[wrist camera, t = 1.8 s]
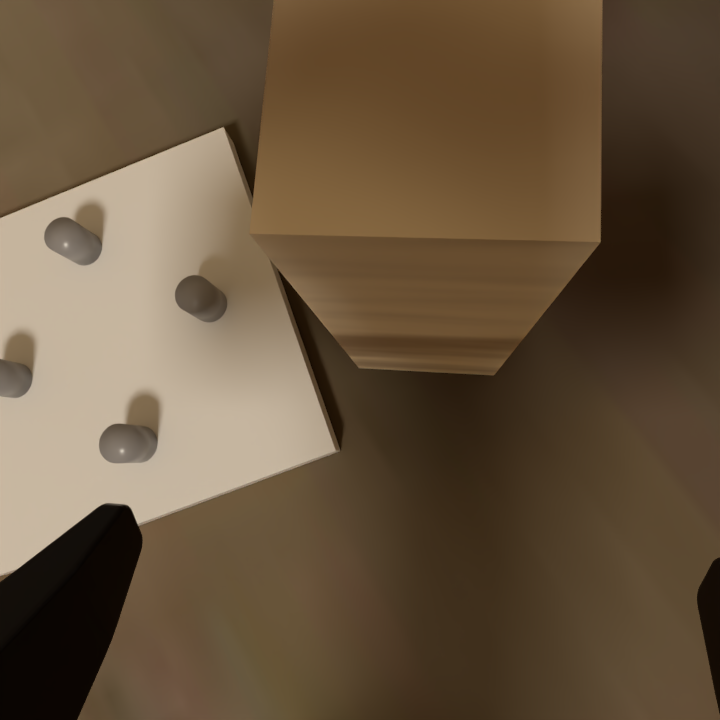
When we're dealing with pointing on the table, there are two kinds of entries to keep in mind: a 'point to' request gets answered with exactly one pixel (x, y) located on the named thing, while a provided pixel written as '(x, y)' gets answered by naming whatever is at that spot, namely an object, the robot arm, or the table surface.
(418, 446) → the table surface
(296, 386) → the stub base plate
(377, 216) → the maple block
